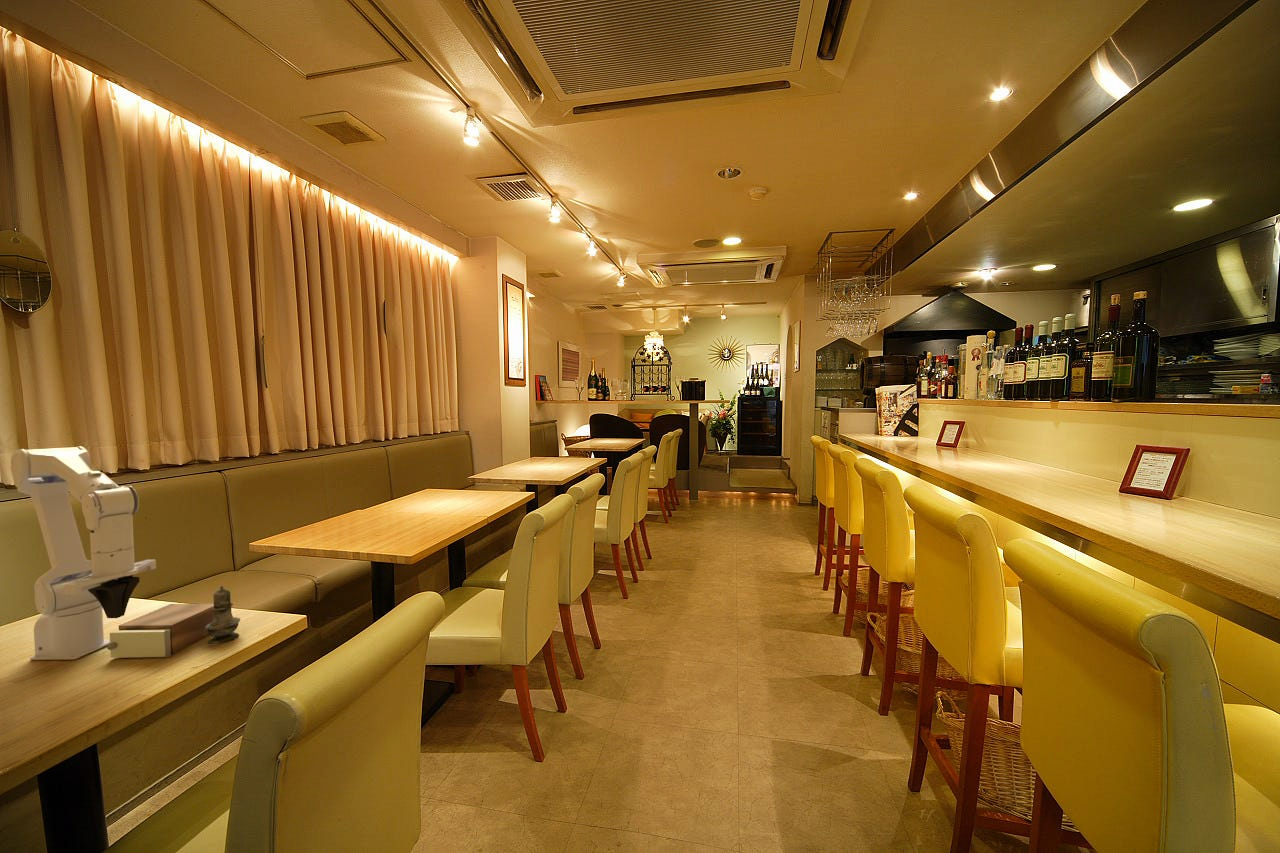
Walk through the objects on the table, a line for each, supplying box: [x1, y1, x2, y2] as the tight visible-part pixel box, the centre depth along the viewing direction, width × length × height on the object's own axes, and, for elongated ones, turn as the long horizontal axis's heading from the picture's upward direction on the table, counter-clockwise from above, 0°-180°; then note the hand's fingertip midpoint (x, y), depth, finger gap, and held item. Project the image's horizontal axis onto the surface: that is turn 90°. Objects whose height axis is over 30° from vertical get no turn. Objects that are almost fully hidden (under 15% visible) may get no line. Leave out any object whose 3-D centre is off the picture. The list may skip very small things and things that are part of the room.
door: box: [106, 629, 172, 659], centre depth 97 cm, size 11×2×6 cm, turn 92°
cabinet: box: [118, 603, 214, 656], centre depth 104 cm, size 11×11×6 cm
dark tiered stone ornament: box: [205, 585, 241, 646], centre depth 105 cm, size 6×6×12 cm
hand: (115, 616), depth 94 cm, fingers closed
